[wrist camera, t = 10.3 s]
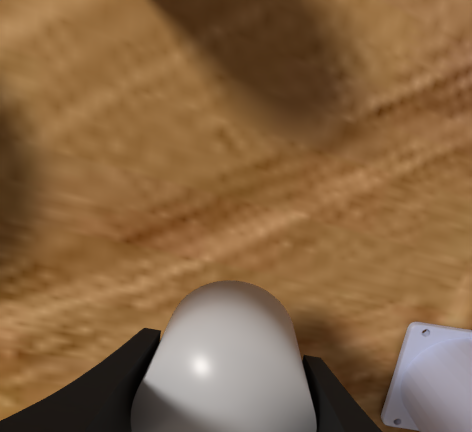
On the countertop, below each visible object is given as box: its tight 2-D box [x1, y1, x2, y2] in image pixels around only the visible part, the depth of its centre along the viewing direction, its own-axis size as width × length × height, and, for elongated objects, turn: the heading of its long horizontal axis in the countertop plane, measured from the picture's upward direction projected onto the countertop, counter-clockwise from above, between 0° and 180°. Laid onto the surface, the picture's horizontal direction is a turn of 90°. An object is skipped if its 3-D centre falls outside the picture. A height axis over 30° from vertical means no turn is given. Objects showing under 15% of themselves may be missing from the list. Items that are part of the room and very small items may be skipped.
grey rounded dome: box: [131, 281, 317, 432], centre depth 10 cm, size 5×5×4 cm
